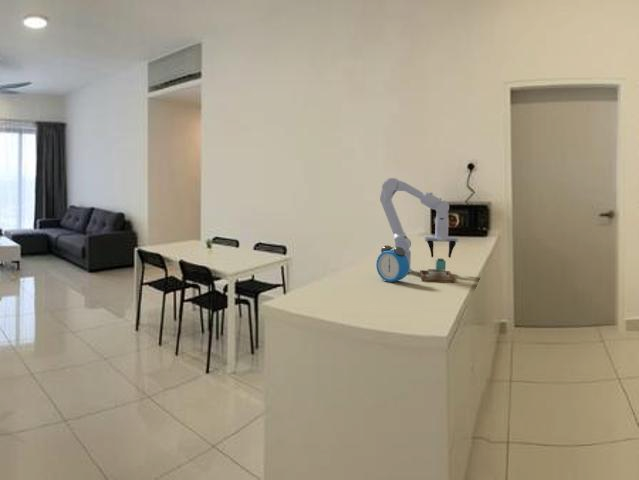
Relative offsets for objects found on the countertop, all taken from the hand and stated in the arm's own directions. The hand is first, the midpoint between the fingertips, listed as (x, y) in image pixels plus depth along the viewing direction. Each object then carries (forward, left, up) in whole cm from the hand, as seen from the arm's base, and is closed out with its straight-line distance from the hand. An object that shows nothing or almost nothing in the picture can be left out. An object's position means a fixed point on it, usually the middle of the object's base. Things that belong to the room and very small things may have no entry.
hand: (440, 257), depth 207 cm
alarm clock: (-22, -20, -8) cm, 31 cm away
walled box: (-3, -12, -8) cm, 15 cm away
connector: (0, 0, -8) cm, 8 cm away
